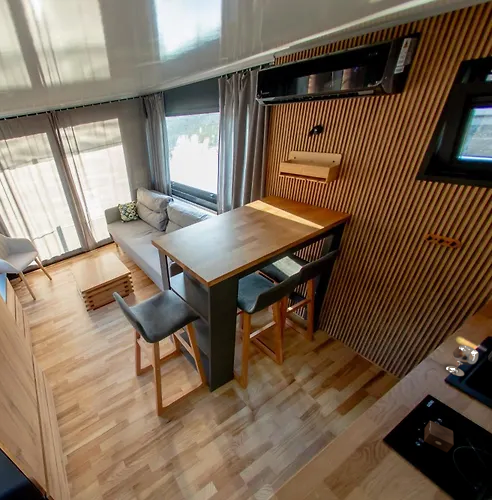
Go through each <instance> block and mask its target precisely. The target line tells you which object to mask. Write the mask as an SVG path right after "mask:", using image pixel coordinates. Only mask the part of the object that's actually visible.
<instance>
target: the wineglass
mask: <svg viewBox="0 0 492 500" xmlns="http://www.w3.org/2000/svg"><path fill="white" fill-rule="evenodd" d="M452 358H453V359H454V360H455V361H456V362H457V366H454V365H448V366H446V370H447V371H448V372H449V373H451V374H452V375H454V376H457V377H463V376H465V372H464V371H463V370H462V369H461V368H460V366H463V365H465V366H472V365H475V364H476V363H477V361H478V360H479V351H478V350H476V349H475V348H473V347H471V346H469V345H462V344H461V345H459V346H457V347H455V348H454V350H453V351H452Z"/></svg>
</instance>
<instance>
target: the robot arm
mask: <svg viewBox="0 0 492 500" xmlns="http://www.w3.org/2000/svg"><path fill="white" fill-rule="evenodd" d="M487 359H488V361H489V362H491V363H492V351H491V352H490V353H489V355H488V356H487Z"/></svg>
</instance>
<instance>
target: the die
mask: <svg viewBox="0 0 492 500" xmlns="http://www.w3.org/2000/svg"><path fill="white" fill-rule="evenodd" d="M423 434H424V436H423V442H425V443H426V444H429V445H431V446H433V447H434V448H437V449H439V450H440V451H443V452H445V453H448V452H449V451H450V450H451V449H452V448H453V446H454V431H453V430H452V429H449V428H448V427H446V426H443V425H441V424H439V423H437V422H434V421H432V420H429V421H428V422H427V424H426V426H425V427H424V433H423Z"/></svg>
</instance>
